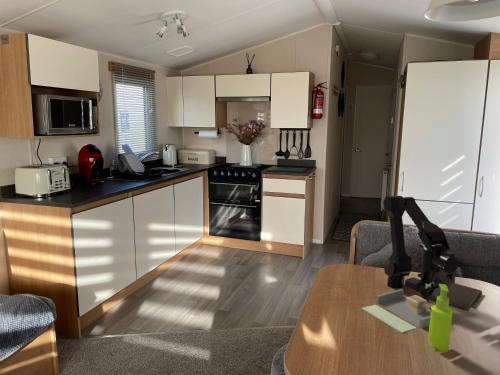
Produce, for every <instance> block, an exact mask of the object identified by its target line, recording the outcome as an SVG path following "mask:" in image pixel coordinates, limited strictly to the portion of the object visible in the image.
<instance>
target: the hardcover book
mask: <svg viewBox="0 0 500 375" xmlns="http://www.w3.org/2000/svg"><path fill="white" fill-rule="evenodd" d="M440 293H441V289H440V288H437V289H435V290H434V292H433V294H432V296H431V298H430V300H429V301H433V302H436V301H437V297H438V296H440ZM481 296H483V291H482V290H481V289H477V288H473V287H471V286H466V285H462V284H459V283H456V282H455V284H452V285H451V287H450V288H449V289H448V292H447V298H449V306H450V307H453V308H457V309H460V310H462V311H467V312H469V310H470V309H474V307H475V306H476V304H477V303H478V301H479V300H480V298H481Z"/></svg>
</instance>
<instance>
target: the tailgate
mask: <svg viewBox="0 0 500 375" xmlns="http://www.w3.org/2000/svg"><path fill="white" fill-rule="evenodd" d="M361 309H362V310H363V311H364V312H366V313H368V314H370V315H371V316H373V317H375V318H376V319H378V320H379V321H381V322H382V323H384V324H386V325H387V326H390V327H391V328H392V329H395V331H397V332H399V333H400V334H403V333H406V332H410V331H413V330H415V329H417V326H414V325H413V324H410V322H409V323H408V321H405V320H404V319H403V318H400V317H399V316H396V314H395V315H394V314H393V313H392V312H390V311H389V310H387V309H385V308H382V306H380V305H378V304H373V305H367V306H363V307H361Z"/></svg>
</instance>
